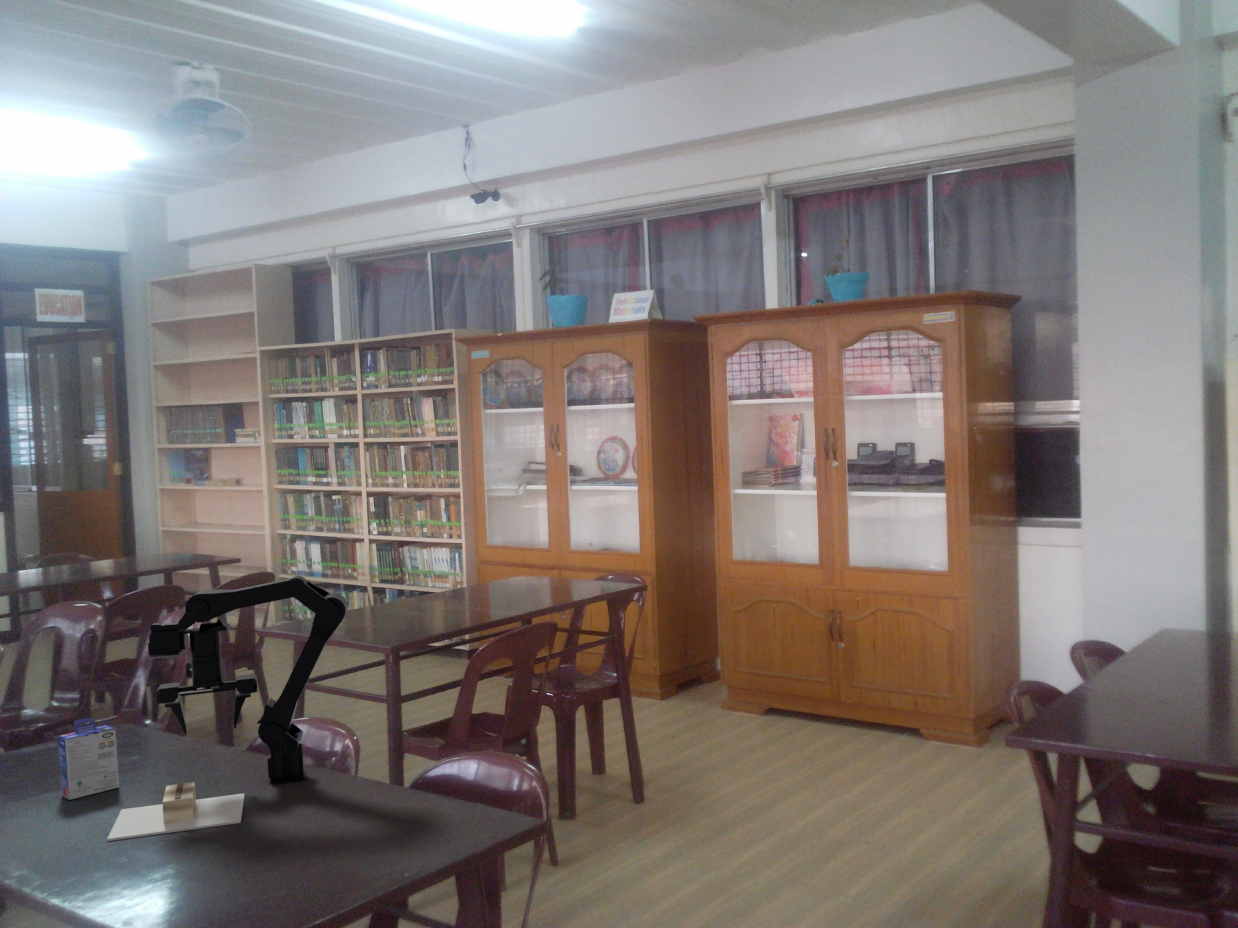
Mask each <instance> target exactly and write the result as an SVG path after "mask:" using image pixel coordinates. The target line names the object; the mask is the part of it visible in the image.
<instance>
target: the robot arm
mask: <svg viewBox="0 0 1238 928" xmlns="http://www.w3.org/2000/svg"><path fill="white" fill-rule="evenodd" d="M290 598H294V600H297V602H300V603H301V604H302V605H303V606H305V607H306V608H307V609H308V610H309V611H311V612H313V613H314V617H313V621H312V626H311V630H310V632H309V637H308V639H307V641H306V642H305V644H304V647H303V649H302V651H301V653H300V654H299V656H298V659H297V661H296V663H295V665H294V668H293V669H292V671H291V673H290V676H289V678H288V680H287V681H286V684H285V686H284V688H283V690H282V692H281V694H280V696H279V697H278V698H277V700H275V699H273V698H272V697H271V698H269V699H268V701H267V703H266V704H265V706H264V710H263V712H262V714H261V716H260V718H259V719H258V720H257V722H256V724H257V725H258V728H257V735H258V737H259V739H260V740H261V741H262V743H264V744H265V745H267V746H268V749H269V752H270V753H269V754H268V755H267V773H268V779H269V780H270V784H278V783H279V784H280V783H286V782H294V781H295V782H297V781H304V780H305V778H306V777H305V770H306V769H305V768H304V767H305V766H304V750H303V743H300V742H301V740H302V737H303V735H304V731H303V730H302V729H301V728H300V727H299V726H298V725H296V724H295V723H294V722H293V721H294V718H295V714H296V710H297V706H298V701H299V699H300V697H301V695H302V693H303V691H304V689H305V686H306V685H307V682H308V680H309V679H310V677H311V675H312V672H313V670H314V668H315V667H316V664H317V662H318V660H319V658H320V656H321V654H322V652H323V650H324V648H325V646H326V644H327V642H329V641H328V640H329V639H330V638H331V636H332V635H333V634H334V633H335V631H336V630H337V628H338V627H339V626H340V624H341V623H342V622H343V620H344V619H345V617H346V614H347V613H348V610H349V603H348V601H347V599H346V598H345V597H344V596H343V595H341V594H340V593H334V592H333V593H330V592H329V591H327V590H325V588H322V587H320V586H318V585H316V584H314V583H312V582H310V581H309V580H307V579H306V578H305V577H303V576H301V575H295V576H292V577H291V578H286V579H281V580H276V581H271V582H266V583H262V584H256V585H252V586H246V587H243V588H241V587H240V588H237V589H221V588H220V589H204V590H200V591H198V592H197V593H195V594H193V595H191V596H190V597H189V598H188V599H187V601H186V603H185V608H184V611H185V613H183V615H182V617H181V618H180V619H179V620H178V622H168V623H161V622H156V623H153V624H150V631H149V637H148V642H147V651H148V655H149V657H150V658H151V659H158V658H172V657H182V656H183V654H184V651H185V652H186V651H188V649H190V662H186V663H185V679H186V680H192V681H191V682H192V683H191V684H192V685H185V686H180V682H171V683H162V684H160V685H159V686H158V688H157V690H156V703H157V704H159V705H160V704H161V705H162V704H164V708H170V709H171V710H172V712H173V714H174V715H175V718H177V720H178V722H179V724H180V727H181V730H182V731H183V734H184V735H188V723H187V720H186V719H187V718H186V714H185V709H184V703H183V697H185V696H194V695H195V696H196V695H203V694H212V693H220V692H228V691H235V699H234V710H233V712H234V713H233V729H236V728H237V725H238V722H239V717H240V714H241V711H242V708H243V706H244V704H245V701H246V699H247V698H251V697H252V694H253V693H257V692H258V678H257V677H258V676H257V675H255V673H251V674H241V675H236V680H229V681H224V678H225V677H224V667H223V661H222V647H221V645H222V643H221V632H226V631H228V630H229V629H230V628H231V625H230V623H228V622H226V621H225V620H224V619H223V618H222V616H224V615H226V614H229V612H232V611H235V610H238V609H243V608H248V607H251V606H253V607H254V606H258V605H261V604H267V603H271V602H272V603H273V602H276V601H281V600H282V601H283V600H286V599H290ZM220 616H221V617H220ZM218 617H220V618H218ZM215 618H217V621H215V622H208V621H210V620H211V621H212V620H213V619H215ZM196 623H200V624H199V627H195V628H193V627H192V626H193V625H194V624H196ZM190 627H192V628H190ZM189 646H190V647H189Z"/></svg>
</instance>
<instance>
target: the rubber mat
mask: <svg viewBox="0 0 1238 928" xmlns="http://www.w3.org/2000/svg"><path fill="white" fill-rule="evenodd" d="M245 796H246V793H237V794H230V795H229V794H228V795H222V796H221V795H220V796H214V797H206V798H200V799H199V798H198V799H196V806H195V813H194V819H193V820H188V821H182V822H175V823H168V824H164V821H163V804H162V803H161V804H160V803H159V804H153V805H147V806H146V805H145V806H138V807H130V808H122V809H120V812H119V814H118V816H117V818H116V820H115V823H114V824H113V826H112V828H111V830H110V832H109V834H108V835H107V838H106V842H113V841H118V840H127V839H132V838H140V837H148V836H149V837H150V836H154V835H162V834H170V833H175V832H177V833H178V832H183V831H185V832H186V831H191V830H199V829H206V828H213V827H220V826H229V825H235V824H241V822H242V817H243V816H242V815H243V809H244V803H245Z"/></svg>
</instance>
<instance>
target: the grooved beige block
mask: <svg viewBox="0 0 1238 928" xmlns="http://www.w3.org/2000/svg"><path fill="white" fill-rule="evenodd" d="M196 800H197V797H196V782H195V781H194V782H193V781H192V782H184V783H183V782H182V783H177V784H171V785H166V786H165V790H164V794H163V799H162V803H161V804H163V821H164V824H168V823H175V822H182V821H188V820H193V819H194V813H195V806H196Z"/></svg>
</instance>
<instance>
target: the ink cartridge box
mask: <svg viewBox="0 0 1238 928" xmlns="http://www.w3.org/2000/svg"><path fill="white" fill-rule="evenodd" d="M73 723H74V730H75V732H70V733H65V734H62V735H57V745H58V746H57V747H58V757H59V758H58V759H59V769H60V770H59V771H60V783H61V796H62V797H64V798H65V799H66V800H68V801H70V800H71V801H72V800H76V799H79V798H83V797H87V796H90V795H94V794H99V793H102V792H103V793H104V792H107V791H111V790H113V789H114V790H115V789H119V788H120V777H119V764H118V762H119V761H118V747H117V732H116V731H117V730H116V728H115V727H113V726H111V725H109V724H104V725H99V726H96V724H95V720H94V718H93V717H87V718H83V719H78V720H77V719H76V720H74V721H73ZM82 723H90V724H88V725H83V726H79V725H81V724H82Z"/></svg>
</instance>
